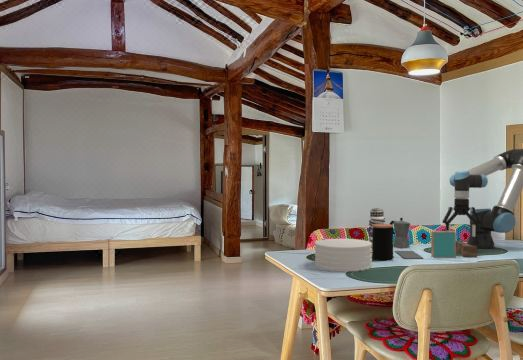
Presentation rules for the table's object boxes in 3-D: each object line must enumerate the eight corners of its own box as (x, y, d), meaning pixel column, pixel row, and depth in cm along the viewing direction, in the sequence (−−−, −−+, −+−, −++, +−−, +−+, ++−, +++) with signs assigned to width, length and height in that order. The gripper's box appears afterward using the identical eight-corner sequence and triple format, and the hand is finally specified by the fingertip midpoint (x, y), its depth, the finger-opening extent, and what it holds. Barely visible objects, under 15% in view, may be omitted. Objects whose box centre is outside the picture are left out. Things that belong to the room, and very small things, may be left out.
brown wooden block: (452, 251, 267) (452, 241, 267) (464, 251, 267) (464, 241, 267) (463, 257, 250) (463, 246, 250) (477, 257, 249) (477, 246, 249)
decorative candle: (388, 252, 267) (388, 208, 267) (375, 253, 264) (375, 209, 263) (379, 249, 276) (378, 207, 275) (365, 251, 272) (365, 208, 272)
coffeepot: (415, 247, 282) (415, 218, 281) (405, 249, 277) (405, 219, 276) (395, 244, 295) (395, 216, 294) (385, 246, 289) (384, 217, 289)
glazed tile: (454, 256, 252) (454, 231, 251) (455, 257, 249) (455, 231, 249) (431, 256, 252) (431, 231, 252) (432, 257, 250) (432, 231, 250)
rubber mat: (412, 251, 268) (412, 250, 268) (423, 259, 246) (423, 257, 246) (394, 251, 269) (394, 250, 269) (404, 259, 247) (404, 257, 247)
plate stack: (333, 258, 253) (333, 237, 253) (381, 264, 235) (381, 241, 235) (304, 266, 231) (303, 243, 231) (355, 274, 213) (354, 249, 213)
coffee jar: (391, 256, 253) (391, 223, 253) (394, 260, 243) (394, 226, 242) (371, 256, 255) (371, 223, 254) (374, 260, 244) (373, 226, 244)
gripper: (441, 198, 258) (440, 236, 259) (487, 199, 257) (486, 237, 257) (436, 197, 266) (436, 235, 266) (481, 198, 264) (481, 235, 265)
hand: (461, 236), depth 262 cm, fingers open, 13 cm apart
